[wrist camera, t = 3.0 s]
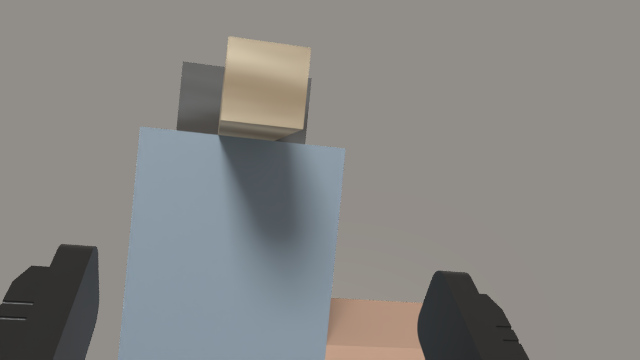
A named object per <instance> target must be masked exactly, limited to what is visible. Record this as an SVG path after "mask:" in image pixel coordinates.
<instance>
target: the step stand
mask: <svg viewBox="0 0 640 360" xmlns="http://www.w3.org/2000/svg"><path fill="white" fill-rule="evenodd" d="M344 158H345V149H343V148H334V147H325V146H316V145H306V144H297V143H288V142H278V141H269V140H260V139H251V138H241V137H232V136H223V135H213V134H204V133H195V132H186V131H176V130H167V129H157V128H148V127H140V135H139V145H138V156H137V166H136V177H135V187H134V199H133V209H132V219H131V229H130V240H129V252H128V261H127V272H126V282H125V293H124V303H123V314H122V324H121V335H120V346H119V356H118V360H425V357H424V354H423V351H422V348H421V345H420V343H419V339H418V333H417V322H418V316H419V313H420V310H421V307H422V305H423V303H413V302H393V301H375V300H358V299H339V298H331V292H332V282H333V271H334V261H335V251H336V240H337V230H338V220H339V210H340V199H341V189H342V179H343V169H344Z"/></svg>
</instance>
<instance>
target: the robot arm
mask: <svg viewBox="0 0 640 360" xmlns="http://www.w3.org/2000/svg"><path fill="white" fill-rule="evenodd" d="M98 275H99V274H98V250H97V247H96V246H82V245H81V246H80V245H67V244H61V245H60V246H59V248H58V249H57V252H56V254H55V256H54V258H53V261H52V263H51V265H50V267H42V266H31V267H29V268H28V269H27V270H26V271H25V272H23V273H22V274H21V275H20V276H19V277H18V278H16V279H15V280H14V281H13V282H12V284H11V286H10V288H9V290H8V291H7V293H6V295H5V297H4V299H3V303H2V304H1V305H0V360H85V357H86V354H87V350H88V347H89V344H90V341H91V337H92V334H93V331H94V328H95V324H96V320H97V314H98V307H99V276H98ZM417 333H418V339H419V343H420V345H421V348H422V351H423V354H424V357H425V360H529V358H528V356H527V354H526V353H525V351H524V349H523V347H522V345H521V344H519V342H518V338H517V336H516V335H515V332H514V331H513V330H511V325H510V323H509V321H508V319H507V318H506V316H505V314H504V312H503V310H502V309H501V308H500V307H499V306H498V305H497V304H496V303H495V302H494V301H493V300H492V299H491V298H490V297H489V296H488V295H487V294H479V293H478V291H477V288H476V286H475V285H474V283H473V281H472V279H471V277H470V275H469V274H468V273H465V272H450V271H437V272H435V274H434V275H433V277H432V280H431V283H430V286H429V288H428V291H427V294H426V296H425V299H424V302H423V305H422V307H421V310H420V313H419V316H418V322H417Z"/></svg>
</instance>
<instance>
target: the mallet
mask: <svg viewBox="0 0 640 360" xmlns="http://www.w3.org/2000/svg"><path fill="white" fill-rule="evenodd" d="M310 54H311V48H308V47H300V46H294V45H287V44H279V43H272V42H265V41H258V40H251V39H244V38H237V37H230V36H229V38H228V47H227V55H226V63H225V67H220V66H212V65H204V64H197V63H189V62H183V68H182V79H181V89H180V100H179V110H178V121H177V131H186V132H195V133H204V134H213V135H223V136H232V137H241V138H251V139H260V140H269V141H278V142H288V143H297V144H305V138H306V128H307V118H308V108H309V97H310V86H311V78H308V74H309V64H310Z"/></svg>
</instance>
